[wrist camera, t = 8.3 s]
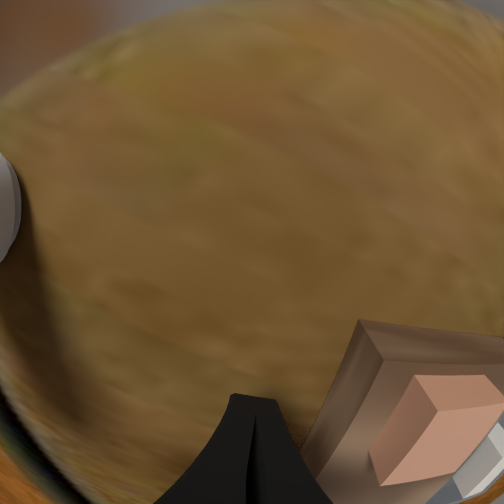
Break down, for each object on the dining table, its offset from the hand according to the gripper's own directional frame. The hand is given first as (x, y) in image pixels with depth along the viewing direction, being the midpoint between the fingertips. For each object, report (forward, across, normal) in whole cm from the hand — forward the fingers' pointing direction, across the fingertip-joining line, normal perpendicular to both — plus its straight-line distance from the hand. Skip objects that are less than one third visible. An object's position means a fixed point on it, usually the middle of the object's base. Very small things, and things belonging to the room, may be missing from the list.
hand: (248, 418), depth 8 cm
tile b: (+1, -7, 0) cm, 7 cm away
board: (+4, -8, +5) cm, 10 cm away
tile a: (+1, -15, +5) cm, 16 cm away
